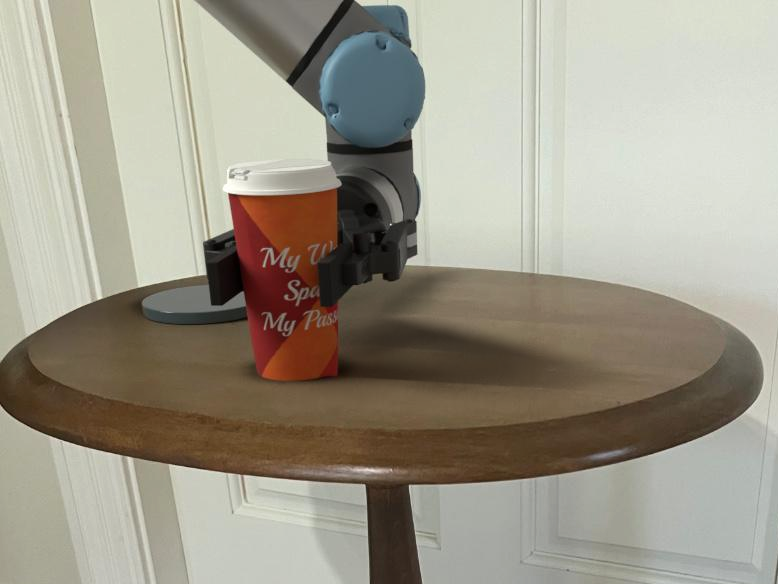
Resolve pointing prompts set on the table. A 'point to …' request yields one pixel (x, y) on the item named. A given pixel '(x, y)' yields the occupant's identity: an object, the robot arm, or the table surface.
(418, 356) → the table surface
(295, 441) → the table surface
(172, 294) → the coaster
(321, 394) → the table surface
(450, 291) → the table surface
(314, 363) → the paper cup
